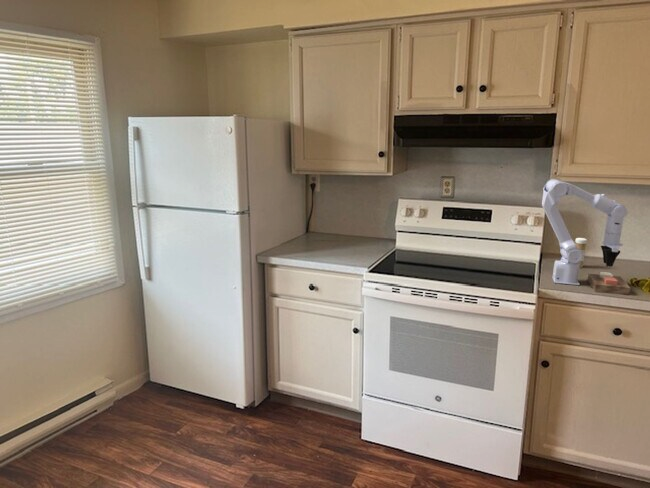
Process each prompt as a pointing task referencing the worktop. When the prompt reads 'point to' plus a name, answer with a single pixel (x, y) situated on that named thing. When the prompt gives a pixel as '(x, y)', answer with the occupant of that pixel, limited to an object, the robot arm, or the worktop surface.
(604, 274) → the white key
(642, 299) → the worktop surface
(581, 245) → the sprinkles bottle
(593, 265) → the worktop surface
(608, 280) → the red key
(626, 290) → the key box
